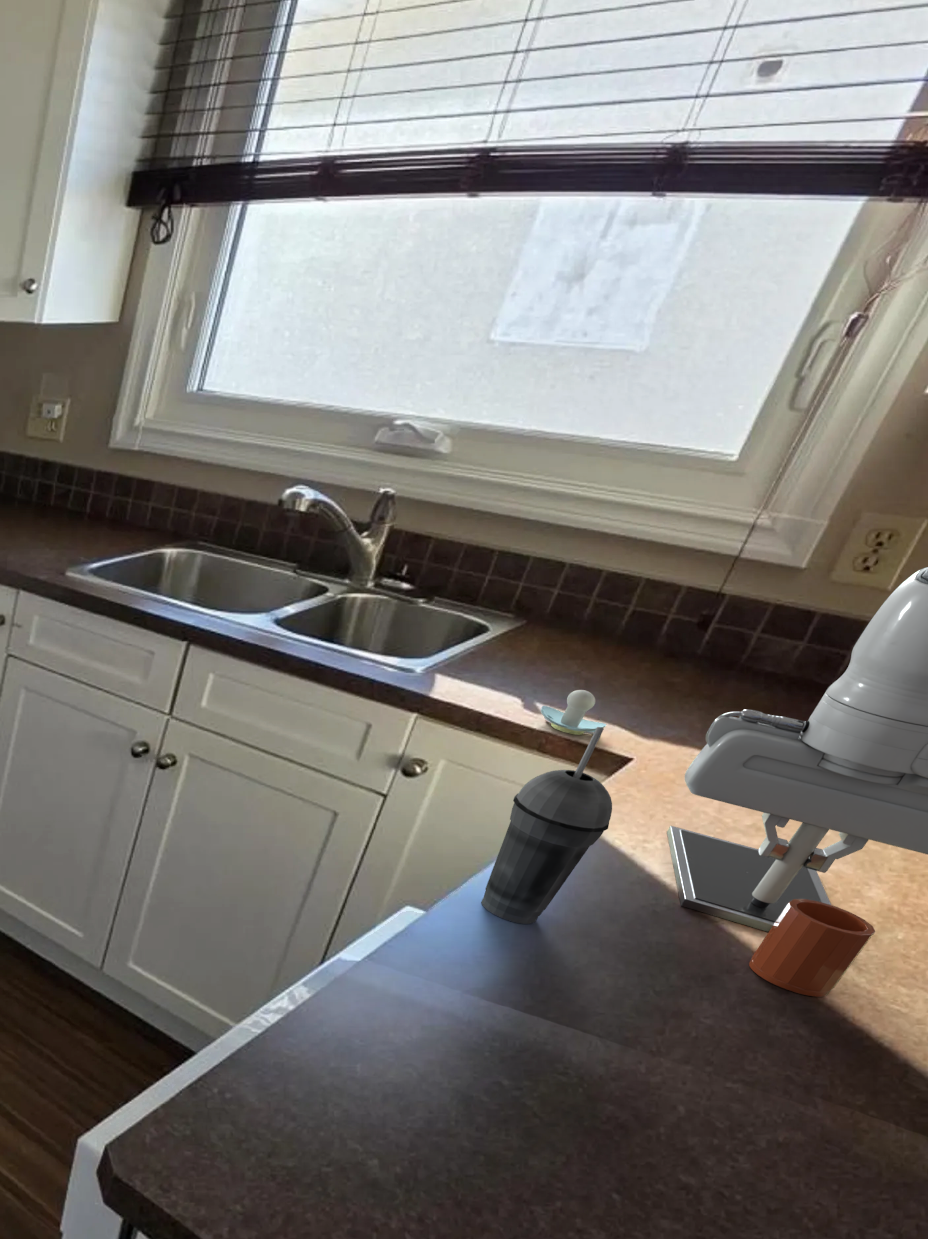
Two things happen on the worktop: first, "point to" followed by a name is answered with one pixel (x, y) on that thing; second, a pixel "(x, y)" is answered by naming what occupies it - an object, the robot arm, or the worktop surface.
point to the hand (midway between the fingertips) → (790, 862)
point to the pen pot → (810, 947)
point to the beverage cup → (546, 839)
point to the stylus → (788, 864)
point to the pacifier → (573, 714)
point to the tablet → (732, 879)
